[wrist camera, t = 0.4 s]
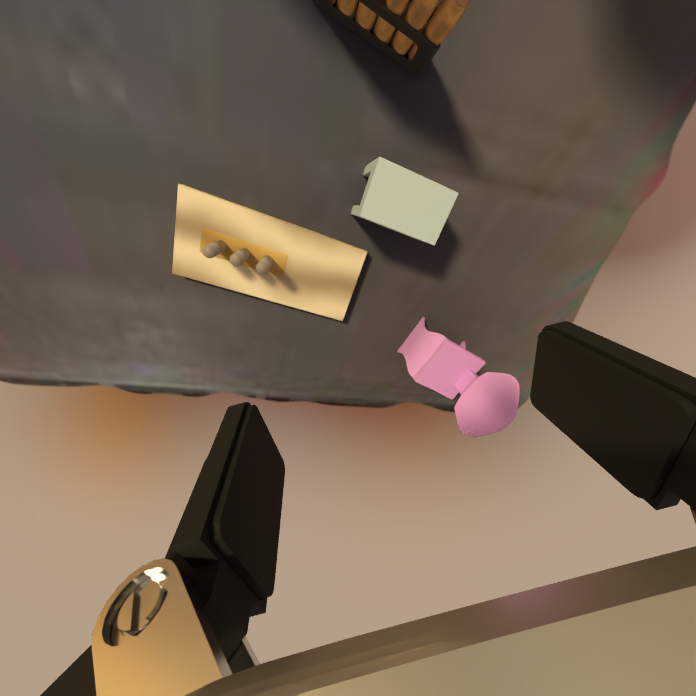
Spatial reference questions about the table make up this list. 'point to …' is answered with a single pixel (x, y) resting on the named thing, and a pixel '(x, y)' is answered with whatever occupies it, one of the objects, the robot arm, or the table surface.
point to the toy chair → (461, 381)
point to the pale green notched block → (404, 201)
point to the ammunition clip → (399, 26)
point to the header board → (262, 255)
